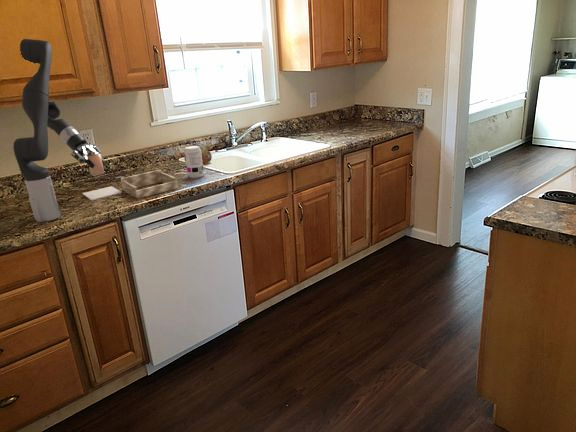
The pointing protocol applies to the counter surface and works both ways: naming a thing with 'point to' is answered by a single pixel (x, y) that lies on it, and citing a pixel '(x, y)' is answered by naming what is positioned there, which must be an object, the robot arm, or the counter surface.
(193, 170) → the supplement can
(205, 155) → the tin
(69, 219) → the counter surface
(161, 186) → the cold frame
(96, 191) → the tile
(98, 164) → the pot
